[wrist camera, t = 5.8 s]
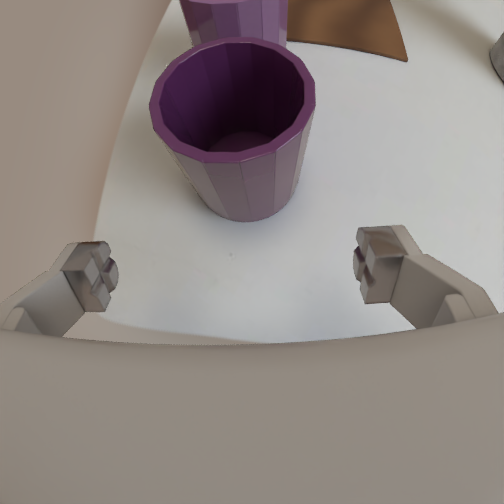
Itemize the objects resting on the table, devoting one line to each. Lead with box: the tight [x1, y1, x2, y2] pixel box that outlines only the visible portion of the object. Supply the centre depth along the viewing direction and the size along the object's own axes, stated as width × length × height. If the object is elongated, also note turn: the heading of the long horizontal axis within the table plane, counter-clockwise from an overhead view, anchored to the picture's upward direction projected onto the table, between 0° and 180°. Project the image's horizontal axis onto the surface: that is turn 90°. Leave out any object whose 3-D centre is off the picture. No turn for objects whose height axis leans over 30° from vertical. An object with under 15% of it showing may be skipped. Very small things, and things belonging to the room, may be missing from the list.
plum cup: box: [149, 37, 316, 222], centre depth 17 cm, size 7×7×10 cm
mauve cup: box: [179, 0, 288, 48], centre depth 19 cm, size 7×7×10 cm
